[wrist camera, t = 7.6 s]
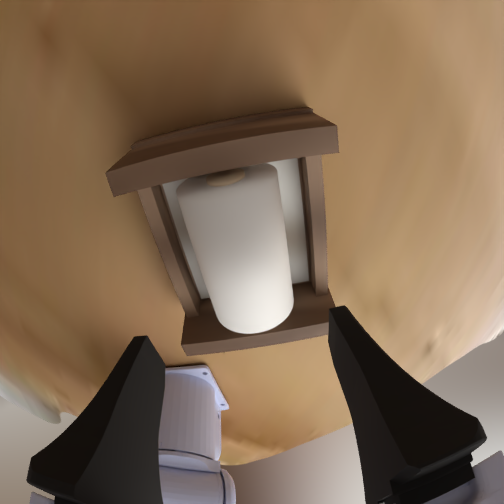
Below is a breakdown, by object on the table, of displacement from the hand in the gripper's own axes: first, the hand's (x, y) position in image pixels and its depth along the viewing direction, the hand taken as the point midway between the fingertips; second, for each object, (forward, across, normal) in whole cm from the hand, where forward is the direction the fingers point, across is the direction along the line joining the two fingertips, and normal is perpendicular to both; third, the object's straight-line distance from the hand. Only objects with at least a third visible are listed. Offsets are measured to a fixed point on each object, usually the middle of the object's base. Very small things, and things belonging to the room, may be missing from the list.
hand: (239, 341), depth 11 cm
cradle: (+9, 0, 0) cm, 9 cm away
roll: (+8, 0, 0) cm, 8 cm away
